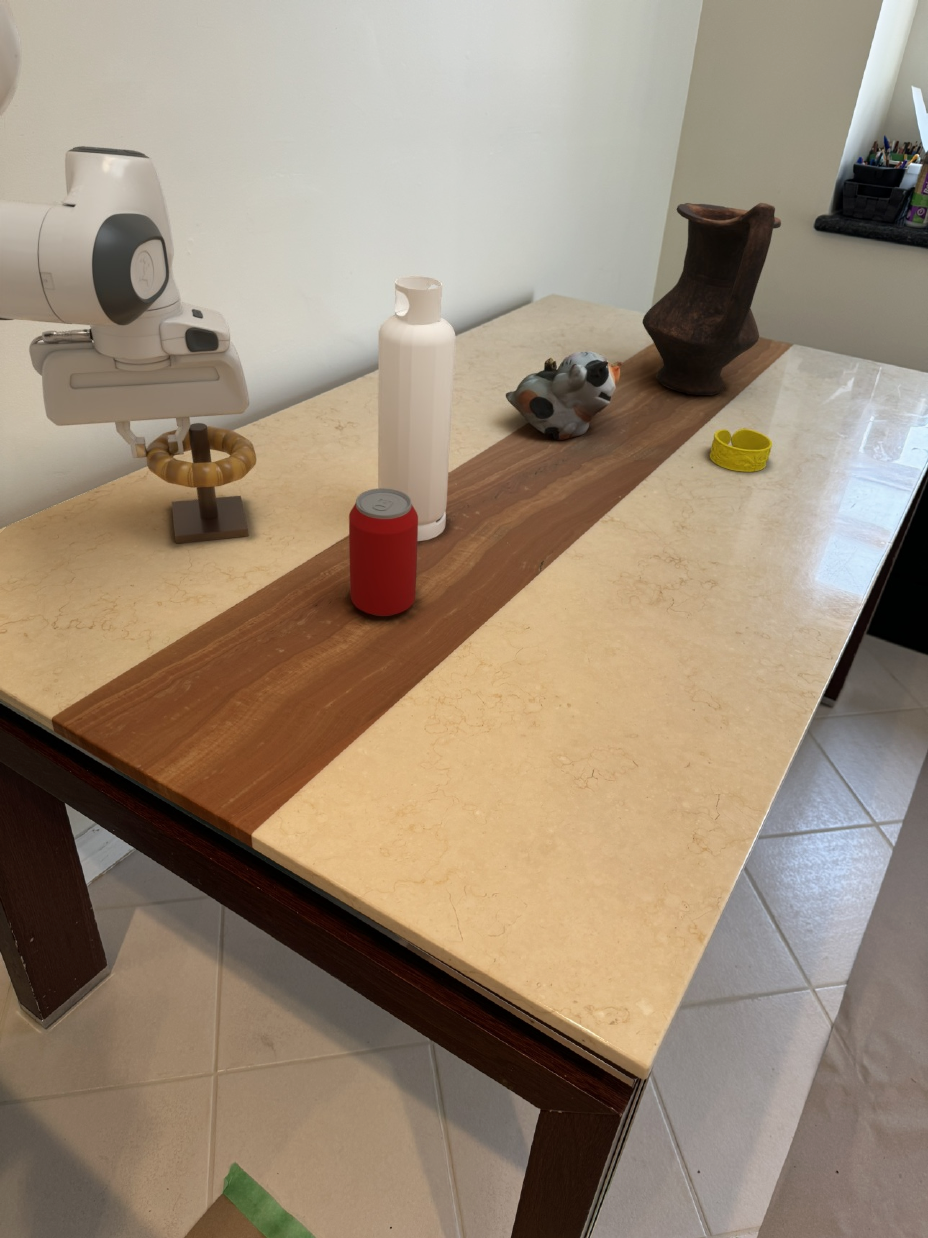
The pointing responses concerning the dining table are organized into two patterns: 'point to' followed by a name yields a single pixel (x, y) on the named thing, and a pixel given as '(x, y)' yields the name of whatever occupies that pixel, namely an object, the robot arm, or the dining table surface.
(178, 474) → the ring
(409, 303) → the bottle
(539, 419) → the lucky cat figurine
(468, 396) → the dining table surface
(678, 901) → the dining table surface
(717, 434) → the bracelet
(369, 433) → the dining table surface
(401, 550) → the beverage can
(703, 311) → the jug
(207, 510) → the post
